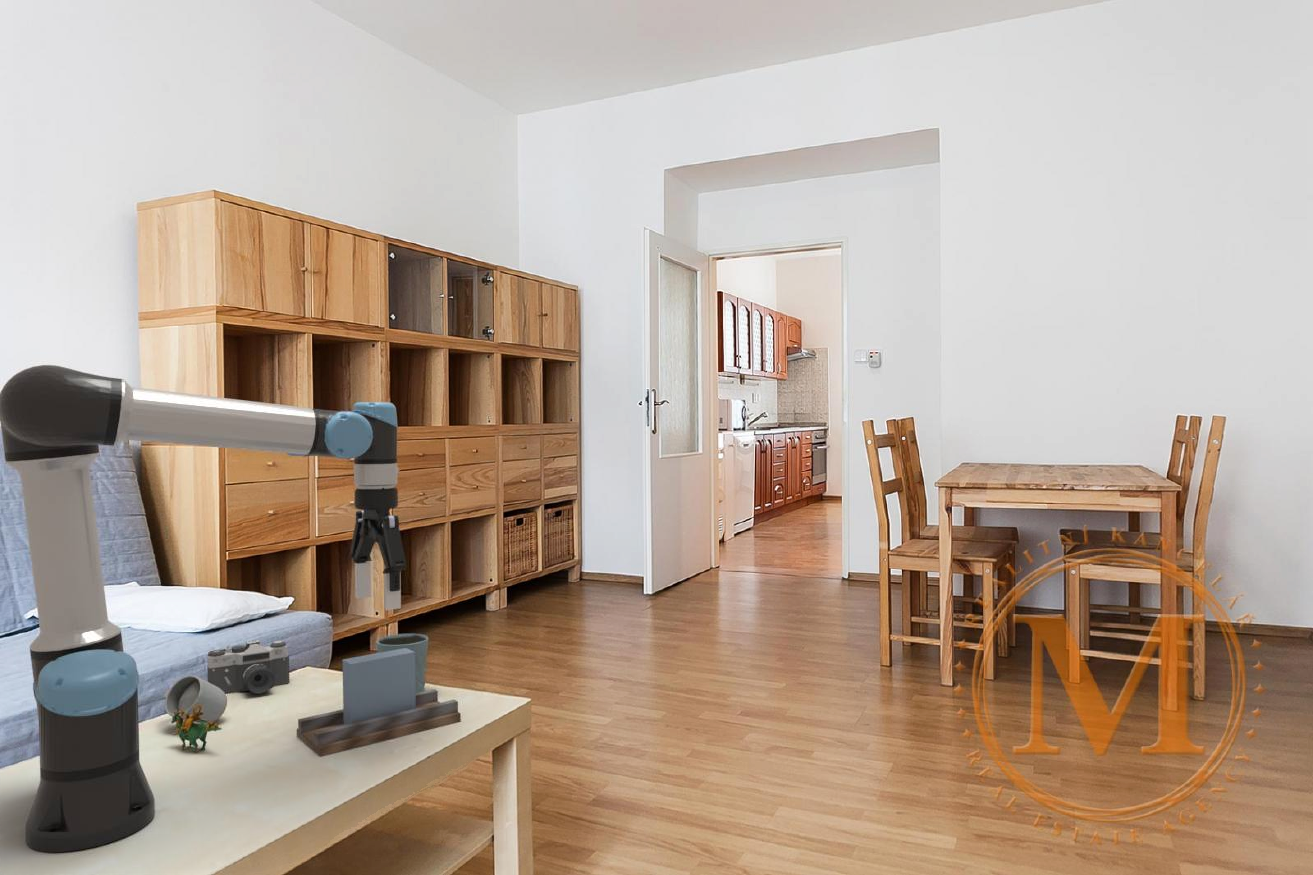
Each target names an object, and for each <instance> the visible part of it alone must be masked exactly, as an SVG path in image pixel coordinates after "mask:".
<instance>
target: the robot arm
mask: <svg viewBox="0 0 1313 875" xmlns="http://www.w3.org/2000/svg"><path fill="white" fill-rule="evenodd" d="M0 430H1V431H0V432H1V436H2V446H3V453H4V460H5V464H6V465H7V466H9V467H10V468H12V469H13V470H15V471H16V472H18V473H19V475H20V483H21V492H22V499H23V508H24V516H25V523H26V524H25V525H26V530H27V538H28V546H29V555H30V561H31V570H32V578H33V586H34V592H35V600H36V601H35V602H36V609H37V616H38V623H39V624H38V625H39V634H38V636H37V637H36V638H35V639H34V640H33V641H32V642H31V643H30V645H29V654H30V662H31V670H32V678H33V683H32V691H33V697H34V700H35V701H36V708H37V709H36V710H37V718H38V739H39V740H38V741H39V742H38V743H39V745H38V747H39V767H40V768H39V770H40V771H39V772H40V773H39V774H40V776H39V777H40V779H39V784H38V788H37V790H36V793H35V797H34V799H33V802H32V806H31V808H30V811H29V814H28V817H27V820H26V823H25V843H26V846H28V848H31V849H32V850H35V851H39V852H45V853H46V852H47V853H48V852H49V853H64V852H72V851H73V852H74V851H80V850H85V849H89V848H90V849H92V848H94V847H95V848H96V847H99V846H102V845H106V844H109V843H112V842H115V841H118V840H120V839H123V838H125V837H128V836H131V834H134V833H136V832H137V831H139V830H141V829H142V828H144V827H146V825H148V824H149V823H150V822H151V821H152V820H153V819H154V817H155V814H156V810H155V809H156V807H155V806H156V805H155V804H156V803H155V796H154V793H153V791H152V788H151V786H150V784H149V782H148V779H147V777H146V774H145V771H144V769H143V767H142V765H141V762H140V732H139V731H140V728H139V691H138V690H139V689H138V687H139V684H140V675H139V672H138V668H137V667H138V666H137V662H136V660H135V658H134V657H133V656H132V655H130V654H128V653H126V652H125V651H124V644H123V643H124V642H123V636H122V628H121V627H119V626H118V625H116V624H114V623H113V622H111V621H110V620H109V616H108V610H107V601H106V593H105V585H104V575H103V568H102V559H101V554H100V543H99V542H100V541H99V535H98V528H97V526H98V525H97V520H96V510H95V505H94V494H93V487H92V486H93V485H92V479H91V478H92V477H91V471H90V466H91V464H92V463H93V462H94V461H95V460H96V459H97V458H98V457H99V456H100V447H99V446H112V447H116V446H118V445H119V444H121V443H123V442H124V441H136V442H148V443H158V444H159V443H160V444H161V443H162V444H171V445H172V444H173V445H184V446H185V445H186V446H197V447H198V446H199V447H209V448H220V449H221V448H222V449H234V450H244V451H245V450H246V451H256V452H257V451H258V452H270V453H283V454H287V455H288V456H290V457H303V458H306V457H325V458H337V459H342V460H351V459H353V485H354V486H356V487H357V488H355V490H354V507H355V509H357V511H356V512H355V525H354V530H353V535H352V539H351V546H350V551H349V558H350V559H352V560H353V562H354V575H355V576H354V579H355V580H354V583H355V584H354V586H355V599H365V598H371V597H372V587H371V586H372V577H371V575H372V571H371V570H372V564H371V563H372V561H373V559H372V557H371V554H372V551H373V548H374V545H375V543H377V544H378V547H379V551H380V554H381V557H382V560H383V563H384V566H385V568H384V569H383V570H382V573H383V576H384V577H383V579H384V580H383V582H384V584H383V585H384V586H383V588H384V590H383V592H384V593H383V594H384V595H383V596H384V597H383V599H384V601H383V603H384V604H383V605H384V606H383V607H384V611H392V610H398V609H402V594H401V593H402V589H401V587H402V583H401V581H402V580H401V578H402V577H401V573H402V571H404V570H407V568H408V565H407V560H406V555H405V550H404V546H403V541H402V536H401V531H400V524H399V516H398V515H391V513H390V510H391V509H392V510H393V509H396V508H397V507H398V506H399V489H397V487H396V486H395V485H397V484H398V474H399V472H400V468H399V467H398V430H399V426H398V415H397V408H396V406H395V404H394V403H392V402H389V401H388V402H387V401H386V402H385V401H384V402H382V401H377V402H375V401H371V402H370V401H367V402H365V401H362V402H361V401H360V402H356V403H354V404H353V410H352V411H350V410H341V411H338V410H328V409H327V410H326V409H323V408H322V409H319V408H311V407H305V406H295V405H286V404H279V403H270V402H269V403H268V402H262V401H253V400H252V401H251V400H243V399H235V398H228V397H227V398H226V397H220V396H219V397H218V396H208V395H203V394H202V395H201V394H195V393H193V394H192V393H184V392H176V391H168V390H166V391H165V390H158V389H150V388H141V387H133V386H131V385H130V384H129V383H128V382H127V381H126V380H125V379H124V378H118V377H116V378H115V377H109V376H105V375H104V376H103V375H98V374H93V373H88V372H83V371H79V370H77V369H72V368H68V367H64V366H60V365H53V364H43V365H36V366H31V367H28V368H25V369H23V370H21V371H19V372H17V373H16V374H14V375H13V376H12V377H10V379H8V380H7V381H6V382H5V384H4V385H3V387H2V389H1V390H0Z"/></svg>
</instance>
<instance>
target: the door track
mask: <svg viewBox="0 0 1313 875" xmlns="http://www.w3.org/2000/svg"><path fill="white" fill-rule="evenodd" d="M438 692H439V691H438V690H437V689H434V688H433V689H430V690H425V691H424V692H419V693H416V708H415V709H411V710H407V711H403V712H398V713H394V714H390V715H385V716H381V717H377V718H373V719H368V720H364V721H360V722H355V723H351V724H347V725H344V717H343V709H338V710H334V711H329V712H325V713H320V714H315V715H313V716H307V717H302V718H298V720H297V721H298V723H297V727H298V728H296V738H298V740H300V741H301V742H302V743H304V745H305V746H307V747H308V749H310V750H311V751H312V752H314V753H315V754H316V756H318V757H324V756H328V755H332V754H336V753H341V752H343V751H347V750H352V749H355V748H360V747H364V746H368V745H372V744H375V743H380V742H383V741H387V740H392V739H396V738H400V737H403V736H408V735H411V734H414V733H415V734H416V733H419V732H423V731H427V730H430V729H435V728H439V727H443V726H447V725H451V724H455V723H459V722H461V717H462V716H461V712H459V703H458V702H459V701H457V699H452V700H445V701H441V702H440V701H439V700H438V697H439V696H438V695H439V694H438Z"/></svg>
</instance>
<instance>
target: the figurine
mask: <svg viewBox="0 0 1313 875" xmlns="http://www.w3.org/2000/svg"><path fill="white" fill-rule="evenodd" d="M198 707H199V712H195V710H196V709H197V708H198ZM201 709H202V706H201V705H197V706H195V707H194V709H193V714H192V715H191V716H190V717H189V713H187V714H185V716H186V719H185V720H183V718H182V717H181V716H183V714H184V713H185V712H184V711H183V709H181V710H180V711H179V712H178V711H175V712H174V716H173V717H172V716H171V718H172V720H171V721H170V722H171V724H175V723H176V724H175V725H176V727H175V731H176V732H174V733H172V734H171V735H173V736H176V735H178V738H179V739H180V741H181V742H182V744H181V749H182V750H181V751H184V750H185V749H186V747H187V746H186V745H187V744H186V742H185V741H188V742H189V744H188V748H191V747H192V746H193V747H194V750H193V752H194V753H193V754H198V753H197V752H198V750H200V751H206V746H207V740H206V738H207V736H208V732H217V731H221V730H222V729H223V728H222V727H219V725H218V724H217V723H213V722H211V721H209V720H205V719H201V718H199V716H200V715H203V713H204V712H200V711H201ZM176 712H177V713H176ZM175 713H176V714H175ZM179 714H181V716H179ZM196 714H197V715H196ZM202 721H203V722H202ZM207 721H209V722H208V724H206V723H204V722H207ZM213 724H214V725H213ZM197 740H200V741H201V742H202V746H201V748H198V747H199V745H198V743H197ZM195 752H196V753H195Z"/></svg>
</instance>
